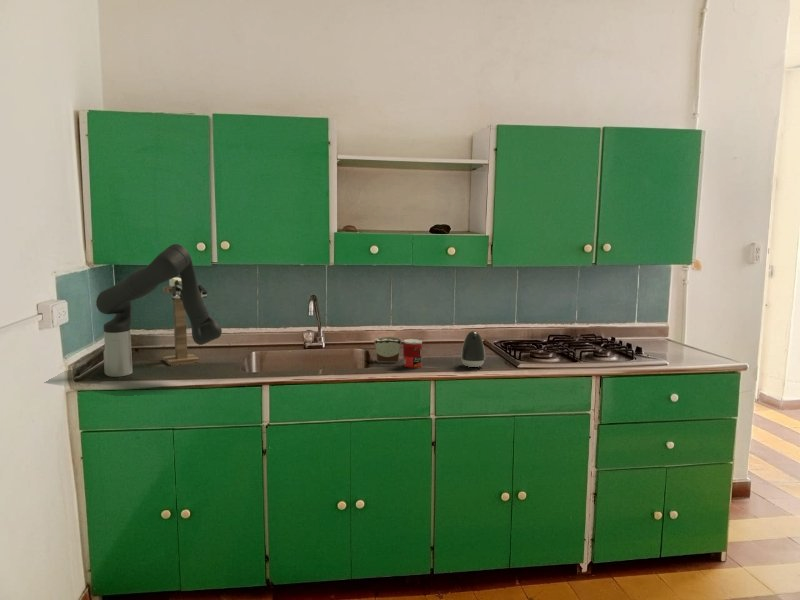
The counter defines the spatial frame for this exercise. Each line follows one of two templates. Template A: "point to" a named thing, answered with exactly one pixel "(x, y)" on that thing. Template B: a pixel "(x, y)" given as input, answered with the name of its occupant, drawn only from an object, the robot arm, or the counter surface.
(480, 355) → the grey egg shaped speaker
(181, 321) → the stand
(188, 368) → the counter surface
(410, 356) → the canned food
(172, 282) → the bar
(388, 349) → the food container
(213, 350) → the counter surface
